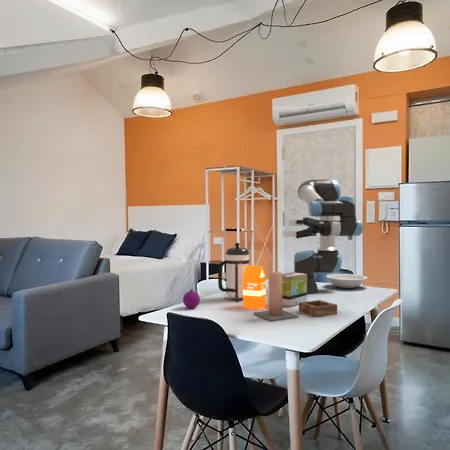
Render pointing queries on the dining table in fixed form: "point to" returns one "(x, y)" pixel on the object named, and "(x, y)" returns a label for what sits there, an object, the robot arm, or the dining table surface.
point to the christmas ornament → (191, 299)
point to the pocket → (318, 308)
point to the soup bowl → (346, 280)
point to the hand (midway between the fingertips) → (285, 228)
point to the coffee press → (234, 271)
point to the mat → (275, 318)
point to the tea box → (294, 288)
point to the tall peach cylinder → (275, 293)
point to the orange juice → (254, 287)
